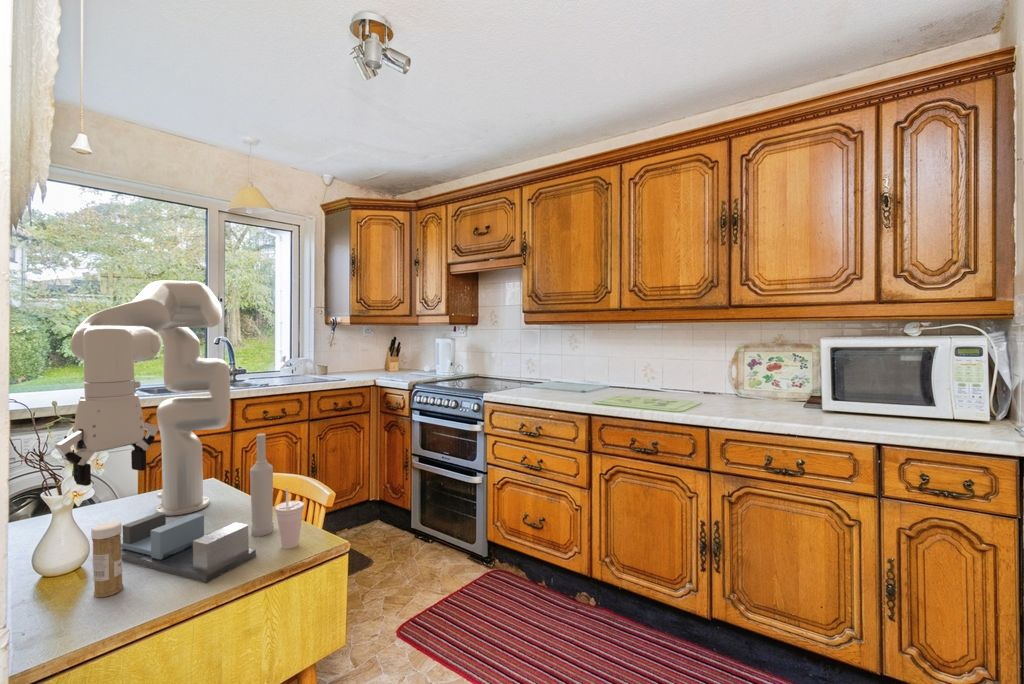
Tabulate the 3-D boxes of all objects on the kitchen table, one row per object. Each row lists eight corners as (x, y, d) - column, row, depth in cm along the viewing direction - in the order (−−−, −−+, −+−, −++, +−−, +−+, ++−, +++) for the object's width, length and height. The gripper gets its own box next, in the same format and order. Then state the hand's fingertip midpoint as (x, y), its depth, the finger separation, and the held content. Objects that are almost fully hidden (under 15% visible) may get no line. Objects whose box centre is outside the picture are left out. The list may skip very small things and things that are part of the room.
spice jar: (128, 588, 96) (126, 522, 95) (101, 600, 91) (99, 531, 91) (115, 583, 98) (113, 518, 97) (88, 594, 93) (85, 527, 93)
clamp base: (110, 557, 108) (109, 524, 108) (164, 535, 119) (164, 505, 119) (206, 583, 98) (205, 547, 97) (255, 556, 109) (255, 523, 109)
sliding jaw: (118, 548, 109) (117, 522, 108) (163, 530, 118) (162, 506, 118) (160, 559, 104) (160, 532, 104) (204, 540, 113) (203, 515, 113)
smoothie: (270, 545, 114) (270, 487, 114) (297, 536, 119) (297, 481, 119) (281, 554, 110) (281, 494, 109) (309, 545, 115) (308, 487, 114)
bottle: (251, 529, 123) (250, 433, 122) (274, 526, 125) (273, 431, 124) (249, 538, 118) (248, 437, 117) (273, 534, 120) (271, 435, 119)
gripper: (143, 384, 103) (145, 463, 104) (42, 395, 87) (45, 488, 87) (168, 385, 100) (170, 466, 101) (69, 397, 84) (72, 493, 85)
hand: (112, 476), depth 94 cm, fingers open, 9 cm apart
